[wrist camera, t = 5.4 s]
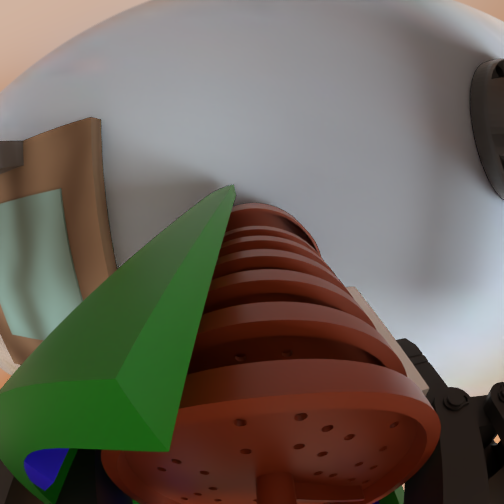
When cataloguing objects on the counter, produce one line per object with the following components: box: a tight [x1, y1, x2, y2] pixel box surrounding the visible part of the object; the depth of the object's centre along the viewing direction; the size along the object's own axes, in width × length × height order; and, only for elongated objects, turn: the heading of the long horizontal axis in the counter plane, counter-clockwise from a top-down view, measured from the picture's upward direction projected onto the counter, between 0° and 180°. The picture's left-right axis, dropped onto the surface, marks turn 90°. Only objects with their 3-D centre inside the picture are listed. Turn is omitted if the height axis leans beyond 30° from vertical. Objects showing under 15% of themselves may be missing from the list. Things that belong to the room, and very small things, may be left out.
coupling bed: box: [0, 117, 117, 365], centre depth 16 cm, size 18×22×8 cm
